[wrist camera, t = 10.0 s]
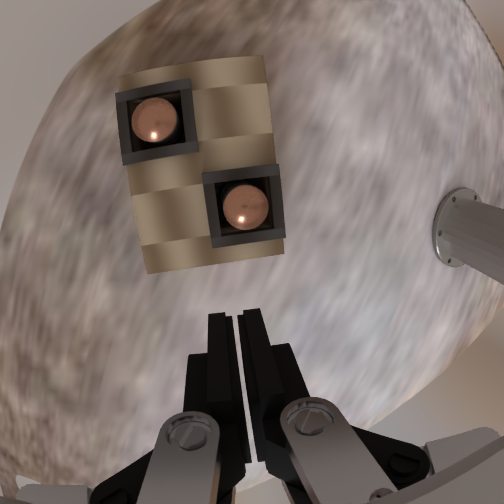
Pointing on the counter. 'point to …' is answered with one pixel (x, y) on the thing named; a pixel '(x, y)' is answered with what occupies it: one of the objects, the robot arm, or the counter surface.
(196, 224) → the maple block
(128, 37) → the counter surface
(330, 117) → the counter surface
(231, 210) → the peg
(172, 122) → the peg
